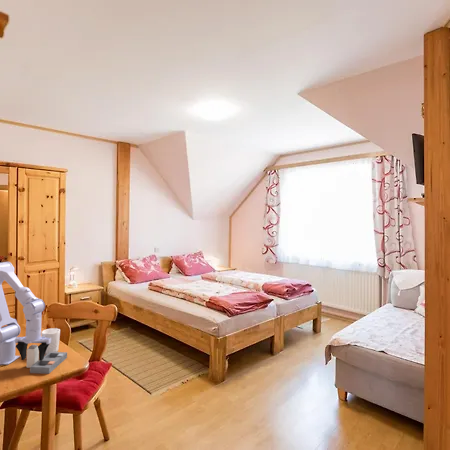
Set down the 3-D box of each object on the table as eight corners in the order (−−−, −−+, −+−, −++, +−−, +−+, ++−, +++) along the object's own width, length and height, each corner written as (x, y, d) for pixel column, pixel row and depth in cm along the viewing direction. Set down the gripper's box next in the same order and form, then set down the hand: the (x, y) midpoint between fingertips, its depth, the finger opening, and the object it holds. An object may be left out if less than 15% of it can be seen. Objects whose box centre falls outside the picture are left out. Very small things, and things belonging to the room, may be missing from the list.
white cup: (42, 349, 153) (43, 328, 153) (60, 347, 156) (61, 327, 156) (39, 355, 146) (40, 334, 146) (58, 353, 149) (58, 333, 149)
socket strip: (29, 372, 130) (30, 365, 130) (49, 357, 145) (49, 350, 145) (49, 373, 130) (49, 366, 130) (67, 357, 145) (67, 351, 145)
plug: (26, 367, 134) (27, 347, 134) (31, 364, 138) (31, 344, 137) (34, 367, 134) (34, 347, 134) (38, 364, 138) (38, 344, 138)
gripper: (10, 331, 132) (9, 362, 132) (45, 332, 132) (44, 364, 132) (21, 325, 139) (20, 355, 139) (54, 326, 139) (53, 356, 139)
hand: (32, 359), depth 136 cm, fingers open, 7 cm apart
